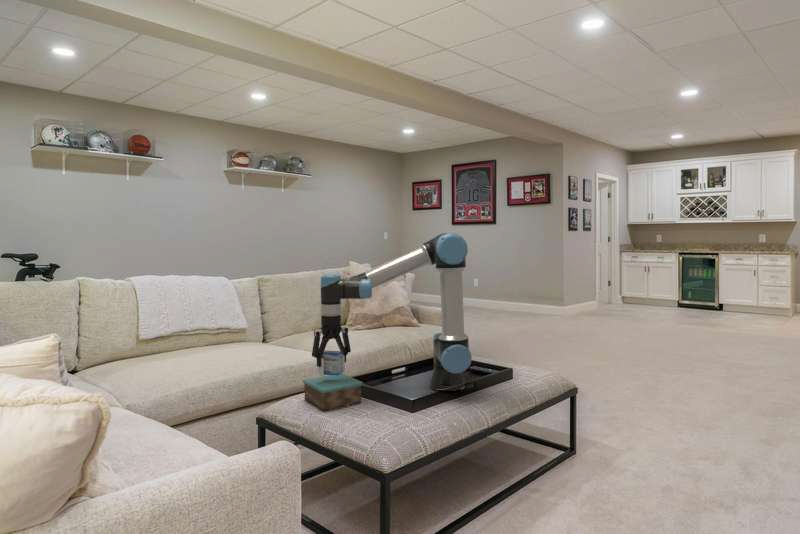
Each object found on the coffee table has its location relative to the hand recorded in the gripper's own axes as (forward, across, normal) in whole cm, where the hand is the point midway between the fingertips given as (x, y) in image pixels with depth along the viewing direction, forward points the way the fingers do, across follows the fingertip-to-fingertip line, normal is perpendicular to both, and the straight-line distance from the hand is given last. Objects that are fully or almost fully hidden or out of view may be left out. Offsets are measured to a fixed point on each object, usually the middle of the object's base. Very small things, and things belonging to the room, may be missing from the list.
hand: (331, 372), depth 202 cm
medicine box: (+1, 0, 0) cm, 1 cm away
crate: (+11, 0, 0) cm, 11 cm away
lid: (+4, 0, +1) cm, 4 cm away
